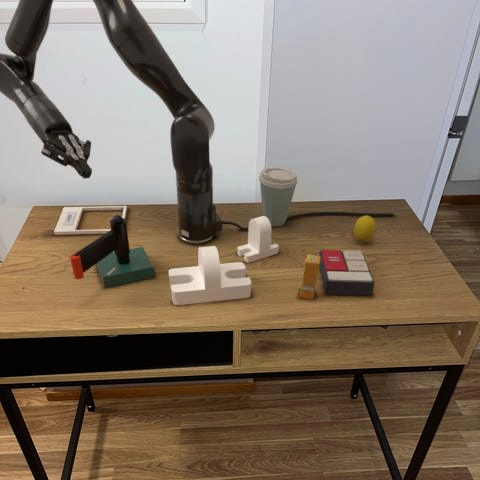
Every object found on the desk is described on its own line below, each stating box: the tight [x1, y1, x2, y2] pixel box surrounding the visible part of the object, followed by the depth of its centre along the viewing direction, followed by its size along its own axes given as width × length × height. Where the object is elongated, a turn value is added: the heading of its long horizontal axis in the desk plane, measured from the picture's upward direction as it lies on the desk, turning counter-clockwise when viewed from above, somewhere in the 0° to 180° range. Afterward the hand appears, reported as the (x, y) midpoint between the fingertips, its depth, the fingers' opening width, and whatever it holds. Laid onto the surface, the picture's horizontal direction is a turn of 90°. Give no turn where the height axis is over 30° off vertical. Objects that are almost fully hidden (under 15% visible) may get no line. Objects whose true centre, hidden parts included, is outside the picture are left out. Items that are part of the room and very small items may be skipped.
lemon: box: [353, 215, 377, 243], centre depth 133 cm, size 6×6×8 cm
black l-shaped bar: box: [69, 214, 131, 280], centre depth 110 cm, size 17×4×10 cm, turn 153°
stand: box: [95, 246, 155, 289], centre depth 120 cm, size 12×10×5 cm
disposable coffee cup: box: [258, 166, 298, 227], centre depth 139 cm, size 11×11×15 cm
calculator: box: [318, 249, 375, 296], centre depth 120 cm, size 11×4×15 cm
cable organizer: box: [236, 215, 280, 264], centre depth 126 cm, size 5×10×10 cm, turn 122°
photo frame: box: [53, 205, 128, 236], centre depth 140 cm, size 15×1×18 cm
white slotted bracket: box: [168, 245, 252, 306], centre depth 113 cm, size 10×18×11 cm, turn 102°
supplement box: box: [299, 253, 321, 300], centre depth 113 cm, size 3×3×10 cm
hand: (88, 175), depth 112 cm, fingers closed
